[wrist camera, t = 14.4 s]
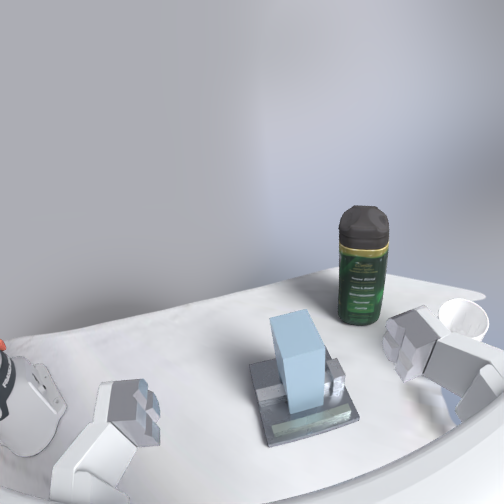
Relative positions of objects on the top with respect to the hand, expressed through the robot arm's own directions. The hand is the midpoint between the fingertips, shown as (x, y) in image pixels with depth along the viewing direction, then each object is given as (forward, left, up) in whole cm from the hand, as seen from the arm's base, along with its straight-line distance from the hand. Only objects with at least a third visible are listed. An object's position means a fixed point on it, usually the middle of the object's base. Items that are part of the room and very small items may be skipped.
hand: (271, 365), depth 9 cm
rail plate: (-12, +12, -29) cm, 34 cm away
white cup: (+3, +29, -29) cm, 42 cm away
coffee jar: (-16, +32, -29) cm, 46 cm away
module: (-12, +12, -28) cm, 33 cm away
